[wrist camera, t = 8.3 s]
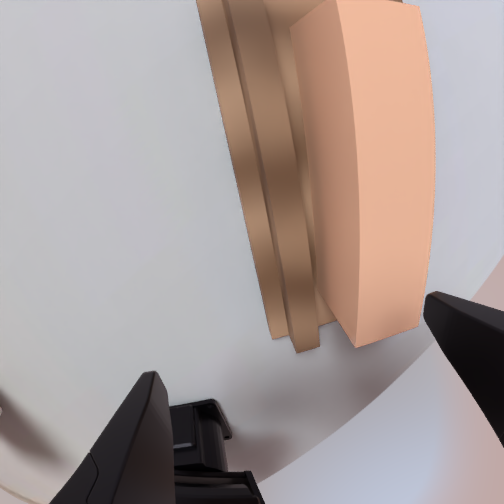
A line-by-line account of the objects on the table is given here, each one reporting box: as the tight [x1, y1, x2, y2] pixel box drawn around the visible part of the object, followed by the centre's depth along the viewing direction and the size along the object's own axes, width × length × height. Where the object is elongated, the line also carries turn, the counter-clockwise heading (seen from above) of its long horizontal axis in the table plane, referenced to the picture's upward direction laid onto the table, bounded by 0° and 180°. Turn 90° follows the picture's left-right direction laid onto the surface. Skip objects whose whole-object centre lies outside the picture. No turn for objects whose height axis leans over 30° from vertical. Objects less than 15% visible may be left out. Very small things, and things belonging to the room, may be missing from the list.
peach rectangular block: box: [290, 0, 435, 348], centre depth 15 cm, size 16×4×6 cm, turn 8°
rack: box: [196, 0, 403, 353], centre depth 17 cm, size 22×12×3 cm, turn 11°
